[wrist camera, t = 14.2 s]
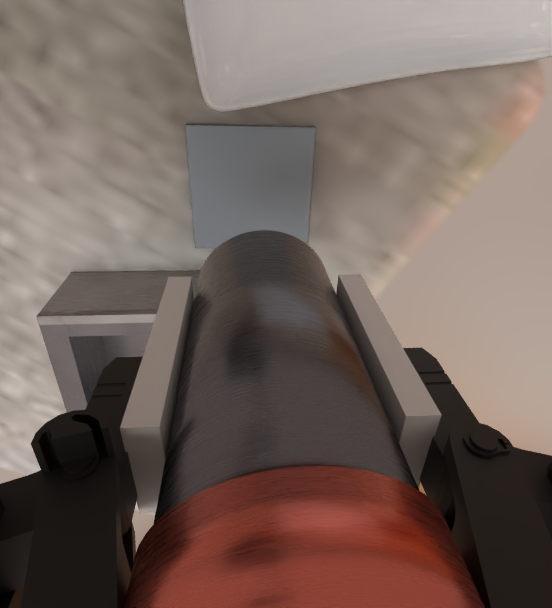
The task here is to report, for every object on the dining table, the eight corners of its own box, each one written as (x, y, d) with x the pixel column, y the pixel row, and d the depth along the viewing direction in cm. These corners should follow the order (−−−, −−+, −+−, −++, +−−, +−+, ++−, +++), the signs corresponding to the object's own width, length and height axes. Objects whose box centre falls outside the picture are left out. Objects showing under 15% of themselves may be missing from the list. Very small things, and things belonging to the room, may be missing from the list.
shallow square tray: (106, 413, 37) (85, 470, 32) (71, 272, 30) (36, 316, 24) (263, 407, 38) (267, 461, 33) (264, 270, 31) (270, 311, 26)
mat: (195, 245, 29) (194, 248, 29) (186, 124, 25) (185, 125, 25) (306, 244, 30) (307, 247, 30) (314, 126, 26) (315, 127, 26)
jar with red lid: (196, 351, 17) (132, 806, 7) (186, 224, 14) (46, 662, 4) (326, 347, 17) (458, 768, 7) (340, 224, 15) (590, 616, 4)
